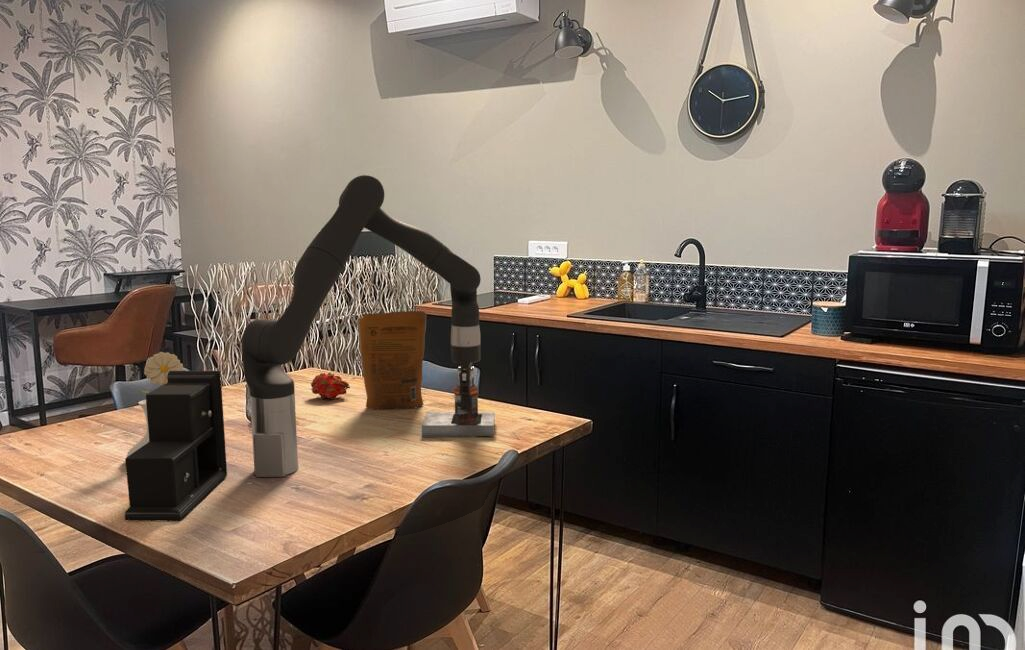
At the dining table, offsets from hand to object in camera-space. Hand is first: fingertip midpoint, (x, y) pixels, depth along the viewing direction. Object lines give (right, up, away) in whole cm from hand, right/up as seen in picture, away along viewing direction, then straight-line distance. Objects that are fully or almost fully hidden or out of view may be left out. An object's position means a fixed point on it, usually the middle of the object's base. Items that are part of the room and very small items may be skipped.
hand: (466, 406), depth 196 cm
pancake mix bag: (-22, -3, +23) cm, 32 cm away
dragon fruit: (-43, -1, +34) cm, 54 cm away
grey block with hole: (-2, -6, +1) cm, 6 cm away
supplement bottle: (0, -4, +1) cm, 4 cm away
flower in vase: (-69, -10, -22) cm, 73 cm away
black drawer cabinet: (-54, -14, -44) cm, 71 cm away
